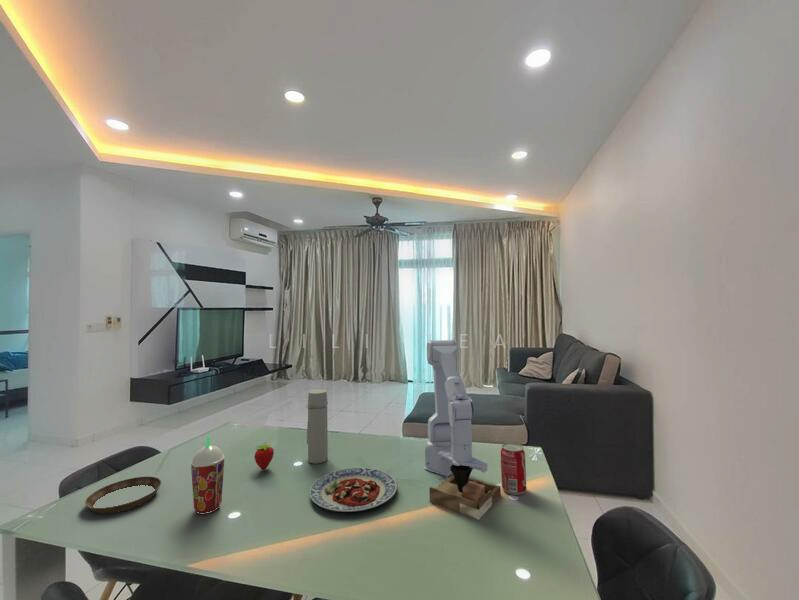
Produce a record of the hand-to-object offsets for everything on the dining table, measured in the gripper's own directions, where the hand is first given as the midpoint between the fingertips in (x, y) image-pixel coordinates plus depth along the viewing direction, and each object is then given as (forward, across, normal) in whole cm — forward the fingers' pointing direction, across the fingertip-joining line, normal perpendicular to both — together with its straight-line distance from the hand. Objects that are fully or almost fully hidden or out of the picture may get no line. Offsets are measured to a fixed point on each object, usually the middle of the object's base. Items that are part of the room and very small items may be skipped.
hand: (462, 490), depth 101 cm
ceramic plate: (+4, -29, -14) cm, 32 cm away
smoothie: (+3, -56, -44) cm, 71 cm away
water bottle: (+3, -57, -5) cm, 57 cm away
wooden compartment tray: (+3, 0, +2) cm, 4 cm away
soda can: (+3, +9, +15) cm, 18 cm away
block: (+1, +4, 0) cm, 4 cm away
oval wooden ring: (+4, -81, -56) cm, 98 cm away
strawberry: (+3, -65, -21) cm, 68 cm away
